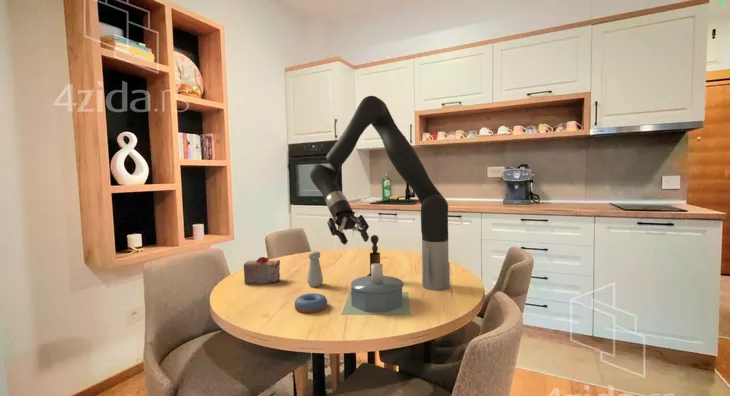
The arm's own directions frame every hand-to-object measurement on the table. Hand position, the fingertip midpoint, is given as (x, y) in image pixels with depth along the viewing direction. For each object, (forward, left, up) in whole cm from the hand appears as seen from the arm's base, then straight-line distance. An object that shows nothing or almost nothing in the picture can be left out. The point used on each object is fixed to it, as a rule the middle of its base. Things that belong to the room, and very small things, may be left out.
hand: (356, 241), depth 118 cm
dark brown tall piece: (-5, -14, -18) cm, 24 cm away
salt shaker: (+17, -8, -18) cm, 26 cm away
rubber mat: (-7, +9, -18) cm, 21 cm away
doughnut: (+13, +14, -19) cm, 26 cm away
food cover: (-7, +9, -18) cm, 21 cm away
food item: (+39, -13, -19) cm, 45 cm away
